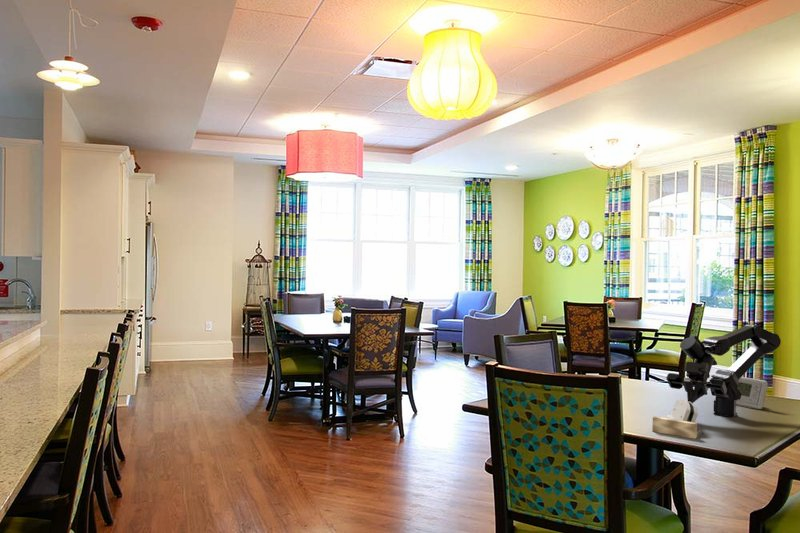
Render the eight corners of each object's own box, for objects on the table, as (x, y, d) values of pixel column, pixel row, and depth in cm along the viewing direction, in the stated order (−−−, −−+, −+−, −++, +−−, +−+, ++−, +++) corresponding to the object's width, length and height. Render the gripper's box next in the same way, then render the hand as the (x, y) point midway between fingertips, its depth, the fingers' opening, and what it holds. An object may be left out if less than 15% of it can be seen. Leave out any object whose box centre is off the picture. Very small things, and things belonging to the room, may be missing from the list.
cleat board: (702, 433, 212) (702, 419, 212) (695, 438, 206) (695, 424, 206) (659, 426, 220) (660, 412, 220) (652, 431, 214) (652, 417, 214)
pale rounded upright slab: (664, 419, 229) (675, 393, 229) (677, 425, 229) (688, 398, 228) (674, 432, 213) (686, 403, 212) (688, 438, 212) (701, 409, 211)
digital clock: (718, 401, 260) (719, 374, 260) (735, 400, 264) (736, 373, 264) (754, 411, 245) (755, 382, 245) (771, 409, 249) (772, 381, 249)
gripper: (669, 350, 235) (655, 385, 227) (724, 356, 222) (712, 393, 215) (677, 369, 241) (664, 404, 233) (731, 376, 228) (720, 414, 221)
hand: (689, 403), depth 225 cm, fingers closed
